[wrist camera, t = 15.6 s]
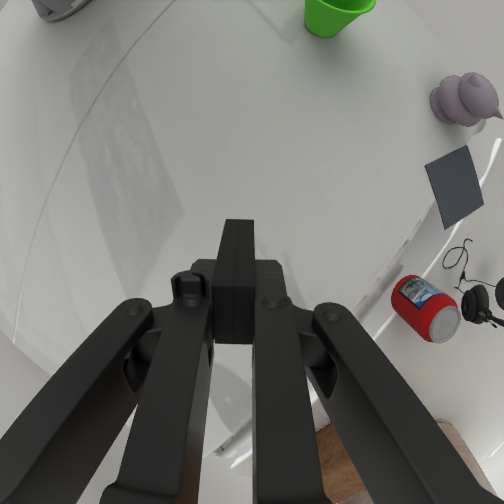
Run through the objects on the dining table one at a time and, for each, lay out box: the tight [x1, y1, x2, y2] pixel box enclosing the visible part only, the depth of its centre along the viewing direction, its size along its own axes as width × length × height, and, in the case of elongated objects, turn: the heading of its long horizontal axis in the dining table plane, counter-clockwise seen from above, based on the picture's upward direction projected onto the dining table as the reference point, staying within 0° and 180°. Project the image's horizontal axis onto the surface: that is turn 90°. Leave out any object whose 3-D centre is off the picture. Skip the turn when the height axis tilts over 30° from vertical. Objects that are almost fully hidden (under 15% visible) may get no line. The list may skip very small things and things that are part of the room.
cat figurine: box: [430, 72, 503, 127], centre depth 28 cm, size 8×8×12 cm
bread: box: [316, 423, 366, 504], centre depth 43 cm, size 14×34×14 cm, turn 136°
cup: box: [305, 0, 376, 37], centre depth 26 cm, size 9×9×11 cm
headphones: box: [443, 239, 504, 328], centre depth 31 cm, size 15×11×20 cm
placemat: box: [425, 145, 484, 230], centre depth 37 cm, size 11×11×1 cm
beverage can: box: [391, 275, 461, 343], centre depth 36 cm, size 7×7×12 cm
